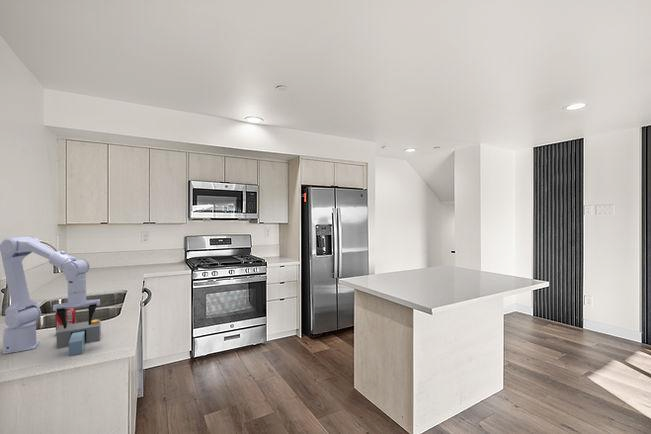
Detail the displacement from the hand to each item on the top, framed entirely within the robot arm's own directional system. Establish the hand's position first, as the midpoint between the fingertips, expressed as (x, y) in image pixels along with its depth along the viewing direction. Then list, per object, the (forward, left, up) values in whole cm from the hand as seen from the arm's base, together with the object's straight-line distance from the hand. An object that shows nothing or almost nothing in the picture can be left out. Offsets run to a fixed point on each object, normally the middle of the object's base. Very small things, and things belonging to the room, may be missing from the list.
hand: (77, 325), depth 128 cm
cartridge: (0, +2, -10) cm, 10 cm away
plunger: (+5, +11, -7) cm, 14 cm away
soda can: (-6, +24, -10) cm, 27 cm away
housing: (0, +11, -10) cm, 15 cm away
